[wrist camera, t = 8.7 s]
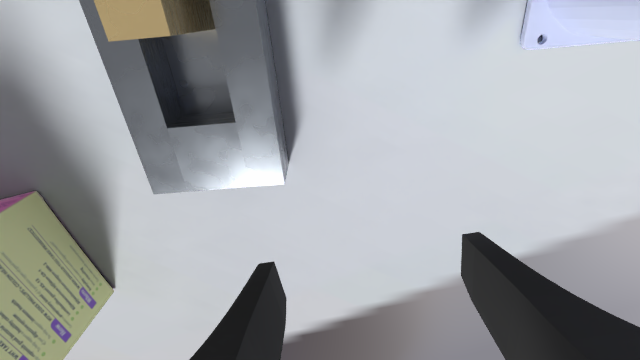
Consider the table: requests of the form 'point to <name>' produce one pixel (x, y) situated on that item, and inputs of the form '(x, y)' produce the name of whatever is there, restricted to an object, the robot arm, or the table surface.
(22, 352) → the box
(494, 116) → the table surface
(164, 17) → the clip
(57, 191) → the table surface
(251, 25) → the block
